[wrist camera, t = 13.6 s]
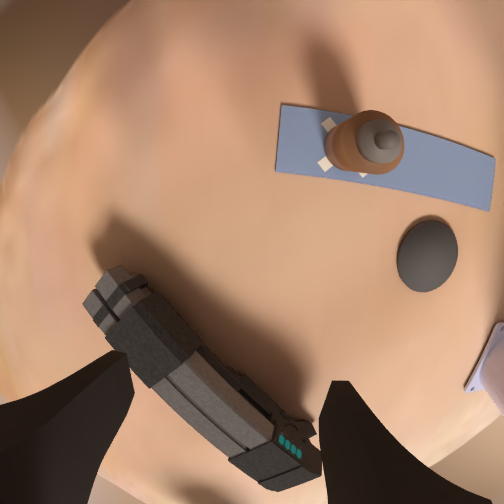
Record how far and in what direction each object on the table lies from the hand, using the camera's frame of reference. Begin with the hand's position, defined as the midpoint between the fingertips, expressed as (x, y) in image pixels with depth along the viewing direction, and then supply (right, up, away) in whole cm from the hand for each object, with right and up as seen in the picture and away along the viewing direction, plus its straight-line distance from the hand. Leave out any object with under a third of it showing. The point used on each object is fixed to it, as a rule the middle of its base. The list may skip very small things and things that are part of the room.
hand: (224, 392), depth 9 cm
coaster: (+13, +5, +8) cm, 16 cm away
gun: (-1, -4, +12) cm, 13 cm away
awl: (+6, +11, +6) cm, 14 cm away
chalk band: (+10, +11, +6) cm, 16 cm away
